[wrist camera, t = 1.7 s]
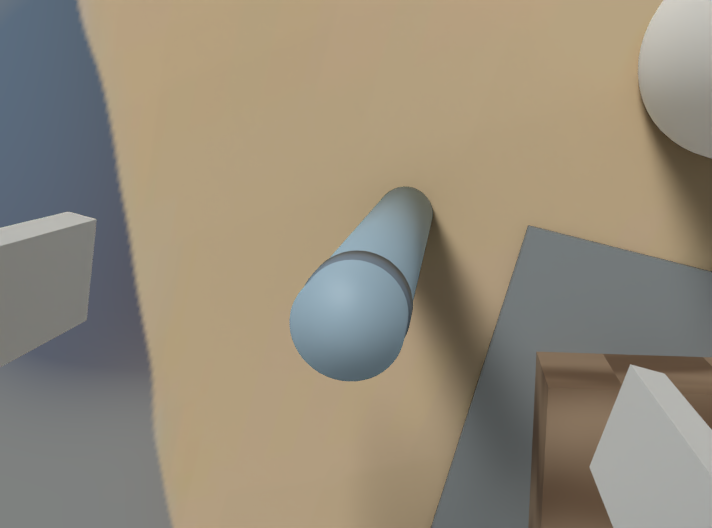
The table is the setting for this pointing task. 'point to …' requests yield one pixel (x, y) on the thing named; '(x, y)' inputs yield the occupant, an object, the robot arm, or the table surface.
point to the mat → (562, 334)
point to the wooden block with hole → (589, 426)
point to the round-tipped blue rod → (365, 291)
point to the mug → (679, 72)
